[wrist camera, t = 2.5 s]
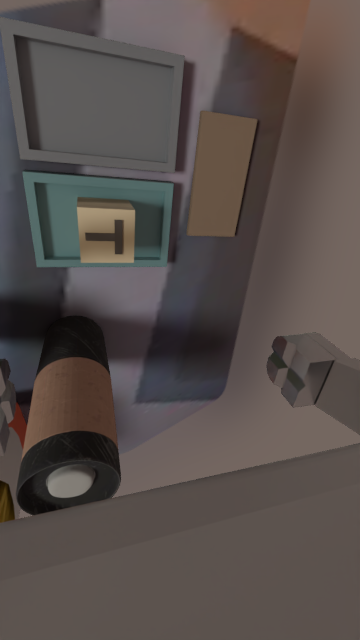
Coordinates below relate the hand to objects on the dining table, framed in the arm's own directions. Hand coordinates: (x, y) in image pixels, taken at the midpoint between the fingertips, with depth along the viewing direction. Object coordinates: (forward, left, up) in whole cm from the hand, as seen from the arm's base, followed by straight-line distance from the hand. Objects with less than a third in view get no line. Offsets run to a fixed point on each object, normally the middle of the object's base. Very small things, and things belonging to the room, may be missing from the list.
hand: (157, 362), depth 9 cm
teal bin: (+2, 0, -27) cm, 27 cm away
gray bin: (-8, 0, -27) cm, 28 cm away
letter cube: (+2, 0, -26) cm, 26 cm away
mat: (-3, +12, -27) cm, 29 cm away
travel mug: (+17, -4, -27) cm, 32 cm away
